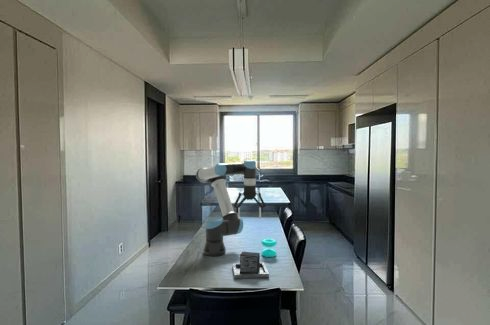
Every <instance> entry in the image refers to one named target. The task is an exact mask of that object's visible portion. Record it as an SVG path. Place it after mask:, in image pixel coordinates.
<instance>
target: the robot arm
mask: <svg viewBox="0 0 490 325" xmlns="http://www.w3.org/2000/svg"><path fill="white" fill-rule="evenodd" d="M233 175H243V192H238V196H237V198H236V200H235V202H234V204H233V203H232V201H231V198H230V195H229V192H228V189H227V186H226V183H227V180H228V176H233ZM256 176H257V163H256V161H255V160H246V159H245V160H244V161H243V162H240V161H239V162H230V163H227V162H225V163H222V162H221V163H216V164H215V165H213V166H208V167H207V166H205V167H201V168H198V169H197V170H196V173H195V177H196V179H197V180H198V181H199V182H200V183H204V184H208V183H209V184H210V185H211V187H213V188H214V189H213V190H214V192H215V195H216V199H217V202H218V205H219V209H220V210H221V211H220V212H221V215H222V217H221V216H213V217H210V218H208V219H207V220H206V222H205V242H204V246H203V250H202V251H203V252H202V253H203V254H204V255H205V256H208V257H219V256H223V255H225V254H226V253H227V251H226V246H225V242H224V237H227V236H233V235H234V236H235V235H239V234H241V233H242V232H243V230H244V219H243V217H241V216H240V213H241V212H240V211H241V208H240V207H241V206H242V204H243V203H244V202H245V201H246V200H248V201H249V200H251V201H253V200H254V201H255V202H256V203H257V205H258V206H259V208H258V216H259V219H262V214H263V211H264V210H263V209H264V208H266V203H265V202H264V199H263V197H262V194H261V192H260V191H258V192H256V190H257V186H256V183H257V181H256V180H257V179H256V178H257V177H256ZM242 196H243V198H242V199H241V197H242ZM256 196H258V197H259V200H260V201H259V200H258V199H257V198H256ZM239 200H240V201H239ZM234 208H236V209H235V210H236V212H235V210H234Z"/></svg>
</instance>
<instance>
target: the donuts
mask: <svg viewBox="0 0 490 325" xmlns="http://www.w3.org/2000/svg"><path fill="white" fill-rule="evenodd" d="M277 243H278V242H277V241H276V239H273V238H263V240H261V245H262V246H264V247H266V248H264V249H262V250H261V255H262V256H263V257H266V258H274V257H276V255H277V251H276V250H275V249H273V248H272V247H275V246H277Z"/></svg>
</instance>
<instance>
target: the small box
mask: <svg viewBox="0 0 490 325" xmlns="http://www.w3.org/2000/svg"><path fill="white" fill-rule="evenodd" d="M260 255H261V254H260V252H251V251H242V252H241V253H240V254H239V263H240V273H258V272H259V271H260V263H261V262H260V261H261V259H260Z"/></svg>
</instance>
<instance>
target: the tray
mask: <svg viewBox="0 0 490 325" xmlns="http://www.w3.org/2000/svg"><path fill="white" fill-rule="evenodd" d="M232 272H233V278H234V280H251V279H252V280H253V279H269V278H270V273H269V271H268V268H267V266H266V264H265V261H264V262H262V261H261V262H260V271H259V272H258V273H240V262H238V263H237V262H234V263H232Z"/></svg>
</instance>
